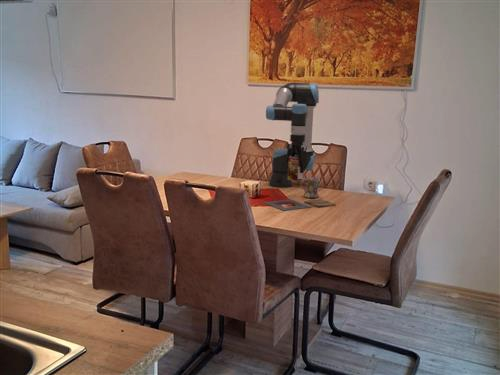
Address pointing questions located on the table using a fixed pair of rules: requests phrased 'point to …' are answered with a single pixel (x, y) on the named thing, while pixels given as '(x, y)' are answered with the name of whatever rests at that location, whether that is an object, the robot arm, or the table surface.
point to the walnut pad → (319, 203)
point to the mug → (311, 187)
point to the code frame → (274, 204)
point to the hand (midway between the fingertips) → (295, 177)
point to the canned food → (293, 168)
